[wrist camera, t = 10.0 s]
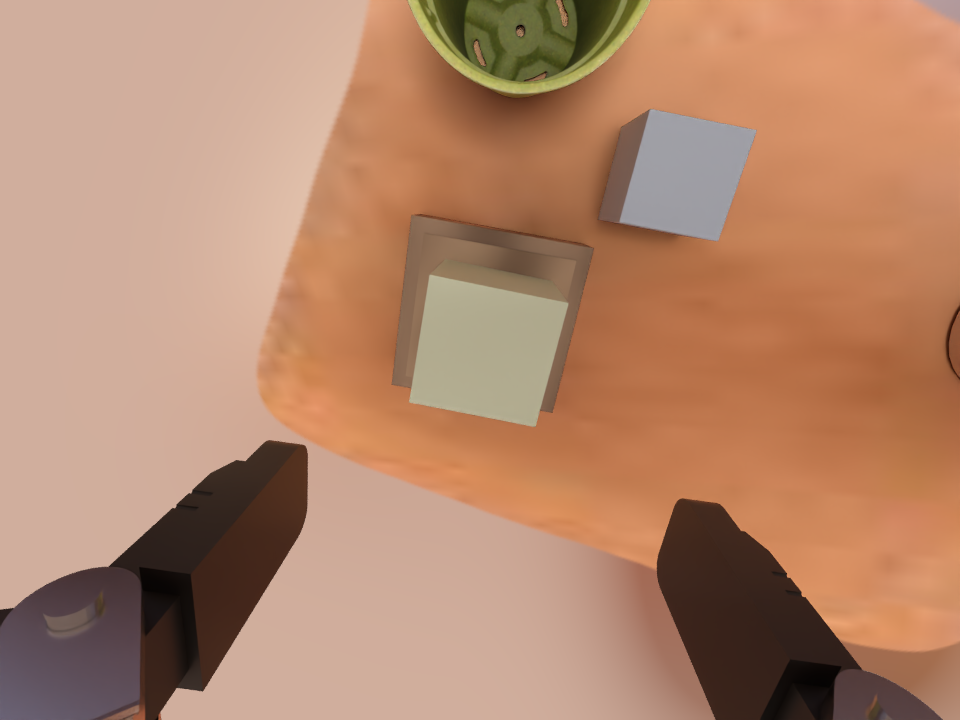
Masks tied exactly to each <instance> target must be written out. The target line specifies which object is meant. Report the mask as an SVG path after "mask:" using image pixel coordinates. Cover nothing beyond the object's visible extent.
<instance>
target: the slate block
mask: <svg viewBox="0 0 960 720" xmlns="http://www.w3.org/2000/svg"><path fill="white" fill-rule="evenodd" d="M756 131H757V130H753V129H748V128H743V127H738V126H733V125H728V124H723V123H718V122H713V121H708V120H703V119H698V118H693V117H688V116H683V115H678V114H673V113H668V112H663V111H658V110H653V109H649V110H648V111H646V112H645V113H643V114H642V115H640V116H638V117H637V118H635V119H634V120H632V121H631V122H629V123H627V124H626V125H624V126H623V127H621V131H620V135H619V139H618V143H617V147H616V151H615V154H614V158H613V162H612V166H611V170H610V174H609V178H608V182H607V185H606V189H605V193H604V197H603V201H602V205H601V209H600V213H599V217H598V220H603V221H608V222H613V223H618V224H624V225H629V226H634V227H639V228H644V229H649V230H654V231H660V232H665V233H670V234H675V235H681V236H687V237H693V238H700V239H706V240H712V241H718V240H719V237H720V234H721V231H722V228H723V226H724V223H725V220H726V217H727V214H728V211H729V208H730V206H731V203H732V200H733V197H734V194H735V191H736V188H737V186H738V183H739V180H740V177H741V174H742V171H743V168H744V166H745V163H746V160H747V157H748V154H749V151H750V148H751V146H752V143H753V140H754V137H755V134H756Z"/></svg>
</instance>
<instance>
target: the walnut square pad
mask: <svg viewBox="0 0 960 720" xmlns="http://www.w3.org/2000/svg"><path fill="white" fill-rule="evenodd" d="M593 250H594V248H592V247H590V246H587V245H585V244H581V243H575V242H570V241H564V240H559V239H553V238H548V237H543V236H537V235H532V234H526V233H521V232H515V231H510V230H504V229H499V228H493V227H488V226H482V225H477V224H472V223H466V222H461V221H455V220H450V219H444V218H439V217H433V216H428V215H422V214H417V215H412V216H411V224H410V233H409V241H408V250H407V259H406V267H405V276H404V284H403V293H402V301H401V310H400V319H399V327H398V336H397V344H396V353H395V361H394V370H393V379H392V385H396V386H402V387H408V388H412V382H413V376H414V369H415V363H416V357H417V350H418V344H419V338H420V332H421V325H422V319H423V313H424V306H425V300H426V294H427V288H428V281H429V275H430V274H431V273H432V272H433V271H434V270H435V269H436V268H437V267H438V266H439V265H440V264H441V263H442V262H443V261H444V260H445V259H448V260H452V261H457V262H462V263H467V264H472V265H477V266H482V267H486V268H491V269H496V270H501V271H506V272H511V273H515V274H520V275H525V276H530V277H535V278H540V279H545V280H549V281H552V282H553V283H554V284H555V286H556V287H557V288H558V290H559V291H560V292H561V294H562V295H563V296H564V298H565V299H566V300H567V302H568V303H569V304H568V308H567V311H566V315H565V319H564V323H563V326H562V330H561V334H560V337H559V341H558V345H557V349H556V352H555V356H554V360H553V363H552V367H551V371H550V375H549V378H548V382H547V386H546V390H545V393H544V397H543V401H542V404H541V408H540V411H545V412H551V413H553V409H554V405H555V401H556V397H557V393H558V389H559V385H560V381H561V377H562V373H563V369H564V365H565V361H566V357H567V353H568V349H569V345H570V341H571V337H572V333H573V329H574V325H575V321H576V317H577V313H578V309H579V305H580V301H581V298H582V294H583V290H584V286H585V282H586V278H587V274H588V270H589V266H590V262H591V258H592V254H593Z"/></svg>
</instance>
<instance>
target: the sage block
mask: <svg viewBox="0 0 960 720" xmlns="http://www.w3.org/2000/svg"><path fill="white" fill-rule="evenodd" d="M568 304H569V303H568V302H567V300H566V299H565V298H564V296H563V295H562V294H561V292H560V291H559V290H558V288H557V287H556V286H555V284H554V283H553V282H552V281H549V280H545V279H540V278H535V277H530V276H525V275H520V274H515V273H511V272H506V271H501V270H496V269H491V268H486V267H482V266H477V265H472V264H467V263H462V262H457V261H452V260H448V259H445V260H444V261H443V262H442V263H441V264H440V265H439V266H438V267H437V268H436V269H435V270H434V271H433V272H432V273H431V274H430V275H429V281H428V288H427V294H426V300H425V306H424V313H423V319H422V325H421V332H420V338H419V344H418V350H417V357H416V363H415V369H414V376H413V382H412V388H411V394H410V401H409V402H410V403H415V404H420V405H425V406H430V407H435V408H441V409H446V410H451V411H456V412H461V413H466V414H471V415H476V416H481V417H487V418H492V419H497V420H502V421H507V422H512V423H517V424H522V425H527V426H532V427H536V423H537V419H538V416H539V412H540V408H541V404H542V401H543V397H544V393H545V390H546V386H547V382H548V378H549V375H550V371H551V367H552V363H553V360H554V356H555V352H556V349H557V345H558V341H559V337H560V334H561V330H562V326H563V323H564V319H565V315H566V311H567V308H568Z"/></svg>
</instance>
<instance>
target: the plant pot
mask: <svg viewBox="0 0 960 720" xmlns="http://www.w3.org/2000/svg"><path fill="white" fill-rule="evenodd" d="M407 1H408V4H409V6H410V8H411V11H412V13H413V15H414V17H415V19H416V21H417V23H418V25H419V27H420V28H421V30H422V32H423V33H424V35H425V36H426V38H427V40H428V41H429V42H430V44H431V45H432V46H433V48H434V49H435V50H436V51H437V52H438V53H439V55H440V56H441V57H442V58H443V59H444V60H445V61H446V62H447V63H448V64H449V65H450V66H452V67H453V68H454V69H455V70H457V71H458V72H459V73H460V74H462V75H463V76H465V77H466V78H468V79H470V80H472V81H473V82H475V83H477V84H479V85H481V86H484V87H486V88H489V89H491V90H493V91H494V92H496V93H499V94H501V95H504V96H507V97H512V98H524V97H530V96H533V95H536V94H540V93H546V92H551V91H554V90H558V89H561V88H563V87H566V86H569V85H571V84H573V83H575V82H577V81H579V80H581V79H582V78H584V77H586V76H587V75H589V74H590V73H592V72H593V71H595V70H596V69H597V68H598V67H600V66H601V65H602V64H603V63H605V62H606V61H607V60H608V59H609V58H610V57H611V56H612V55H613V54H614V53H615V52H616V51H617V50H618V49H619V48H620V47H621V45H622V44H623V43H624V42H625V41H626V39H627V38H628V37H629V36H630V34H631V33H632V32H633V30H634V29H635V27H636V26H637V24H638V23H639V21H640V20H641V18H642V16H643V14H644V12H645V10H646V8H647V7H648V5H649V3H650V0H562V1H563V4H564V7H565V10H566V11H567V13H568V25H567V26H566V27H564V26H562V20H561V15H560V12H559V8H558V5H557V4H556V0H407ZM518 25H523V26H524V28H525V34H524V36H522V37H520V36H518V35H517V34H516V27H517V26H518ZM476 39H478V41H479V45H480V49H481V52H482V55H483V58H484V59H485V62H486V64H487V65H486V66H482V65H480V63H479V61H478V59H477V56H476V54H475V51H474V47H473V44H474V40H476ZM545 71H546V72H547V74H546V77H545V78H544V79H541V80H537V81H530V82H524V80H528V79H531V78H534V77H536V76H538V75H540V74H541V73H544V72H545Z"/></svg>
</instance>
